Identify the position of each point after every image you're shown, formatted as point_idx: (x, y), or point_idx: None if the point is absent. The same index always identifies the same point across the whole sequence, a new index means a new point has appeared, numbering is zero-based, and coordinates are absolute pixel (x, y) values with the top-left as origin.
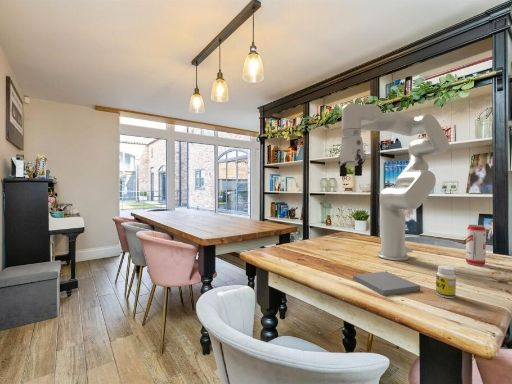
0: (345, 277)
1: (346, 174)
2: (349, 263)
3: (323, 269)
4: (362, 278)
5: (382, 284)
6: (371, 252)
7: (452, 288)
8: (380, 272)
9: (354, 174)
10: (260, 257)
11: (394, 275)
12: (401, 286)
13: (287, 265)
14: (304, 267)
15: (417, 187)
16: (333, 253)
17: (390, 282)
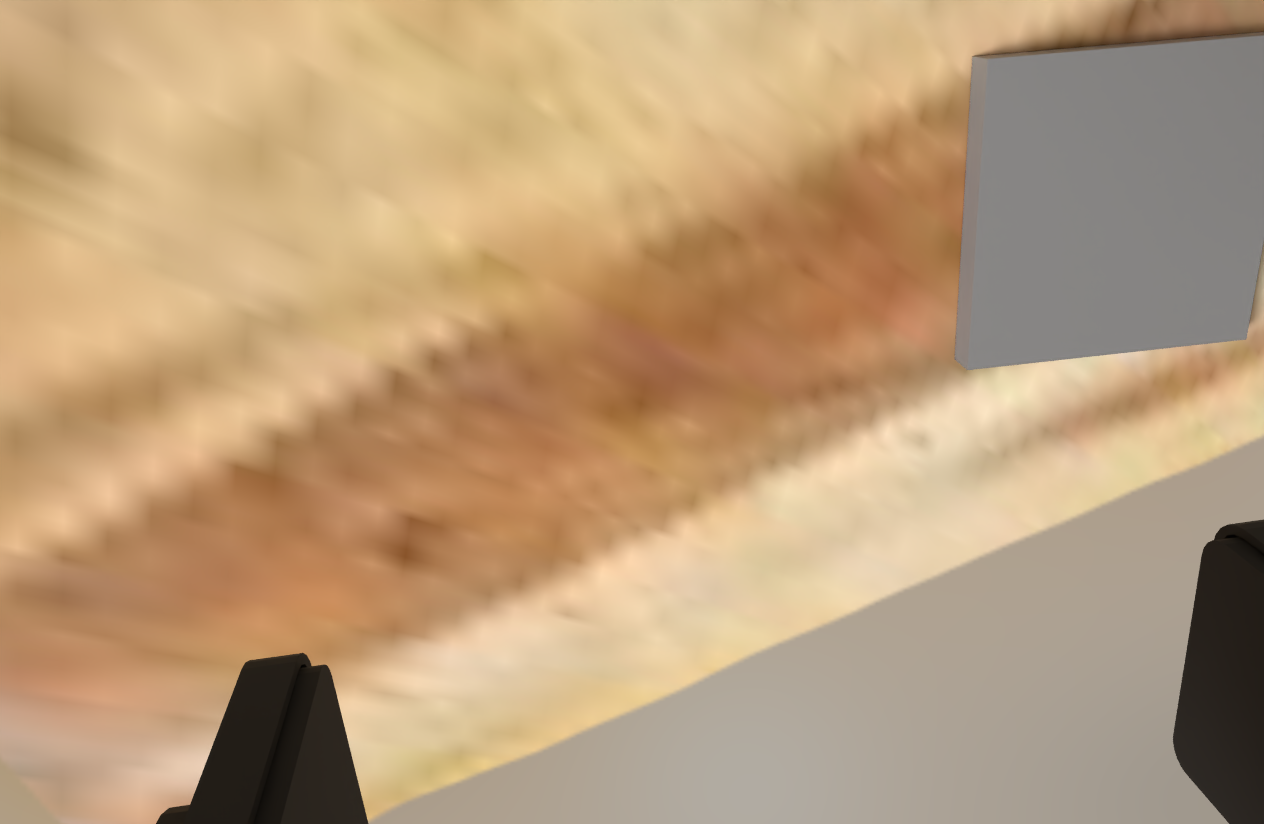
0: (905, 389)
1: (320, 714)
2: (606, 175)
3: (708, 463)
4: (1046, 345)
5: (1177, 280)
6: None
7: None
8: (994, 130)
9: (1208, 784)
10: None
11: (1085, 64)
12: (1254, 180)
13: (559, 673)
14: (630, 576)
15: None
16: (222, 146)
17: (1175, 203)
